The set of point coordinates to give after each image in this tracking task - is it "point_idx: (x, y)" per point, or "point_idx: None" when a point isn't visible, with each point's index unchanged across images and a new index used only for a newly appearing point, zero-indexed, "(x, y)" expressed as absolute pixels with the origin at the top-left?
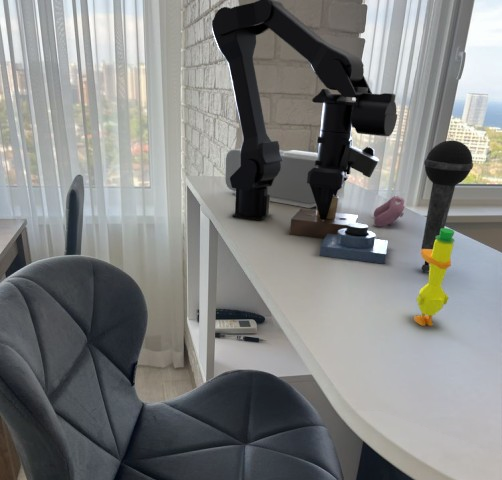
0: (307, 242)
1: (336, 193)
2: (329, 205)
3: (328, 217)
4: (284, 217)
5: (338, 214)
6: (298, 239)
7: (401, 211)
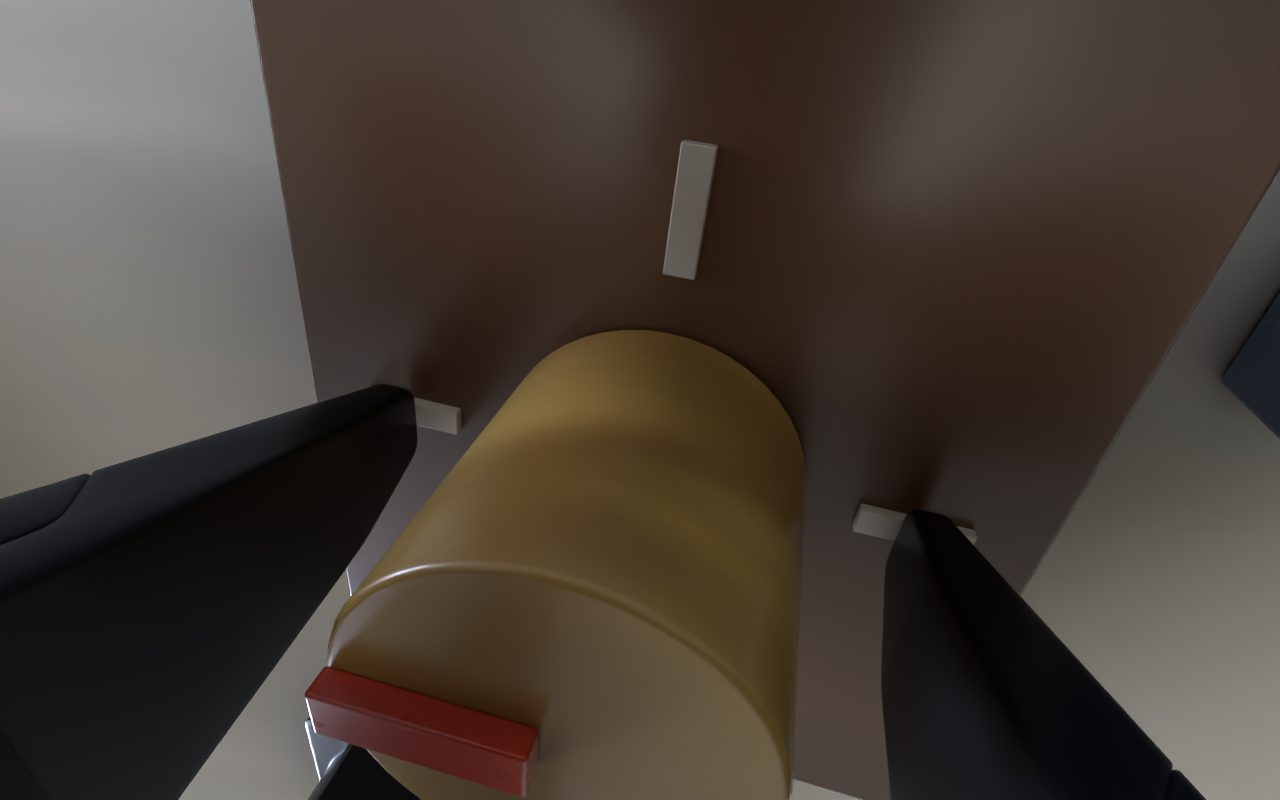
0: (1206, 570)
1: (126, 536)
2: (1141, 742)
3: (800, 465)
4: (318, 616)
5: (396, 258)
6: (1070, 626)
7: None
